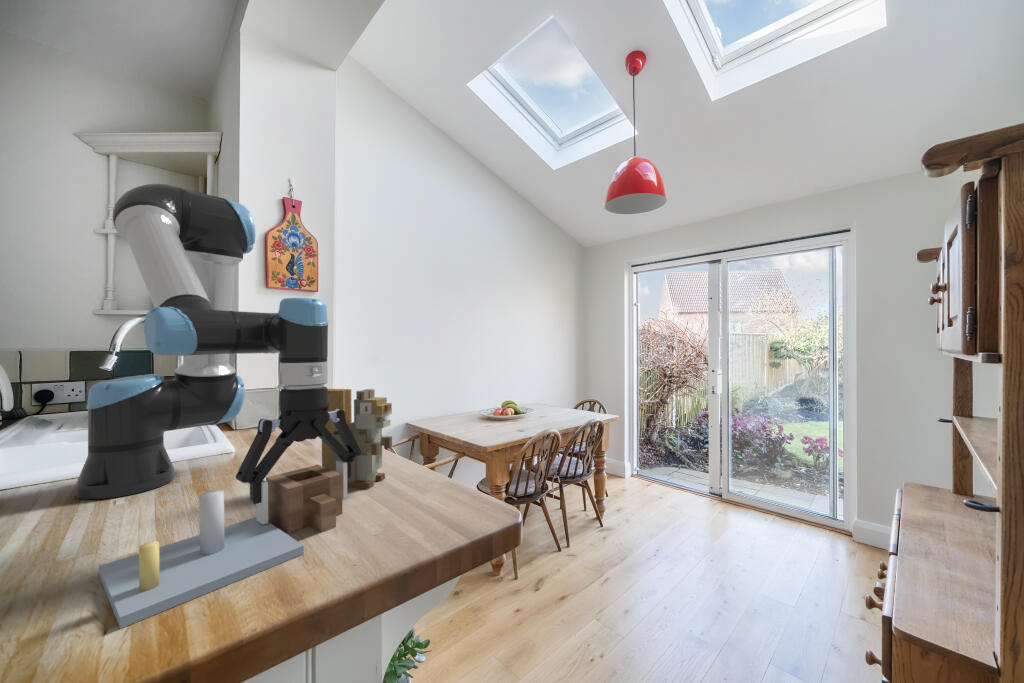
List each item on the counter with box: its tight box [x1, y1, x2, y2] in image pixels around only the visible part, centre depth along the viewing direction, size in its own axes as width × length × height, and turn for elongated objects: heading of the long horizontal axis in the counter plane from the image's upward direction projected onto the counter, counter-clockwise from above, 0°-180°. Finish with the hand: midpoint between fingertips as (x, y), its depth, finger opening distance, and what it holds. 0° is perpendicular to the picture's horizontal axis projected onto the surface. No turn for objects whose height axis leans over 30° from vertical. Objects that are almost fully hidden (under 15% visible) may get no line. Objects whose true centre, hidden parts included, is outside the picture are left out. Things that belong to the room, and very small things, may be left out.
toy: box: [321, 388, 393, 490], centre depth 87 cm, size 6×17×20 cm, turn 78°
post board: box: [98, 489, 305, 630], centre depth 55 cm, size 16×19×9 cm
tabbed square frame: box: [265, 464, 344, 533], centre depth 69 cm, size 13×9×7 cm
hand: (304, 508), depth 70 cm, fingers open, 13 cm apart
